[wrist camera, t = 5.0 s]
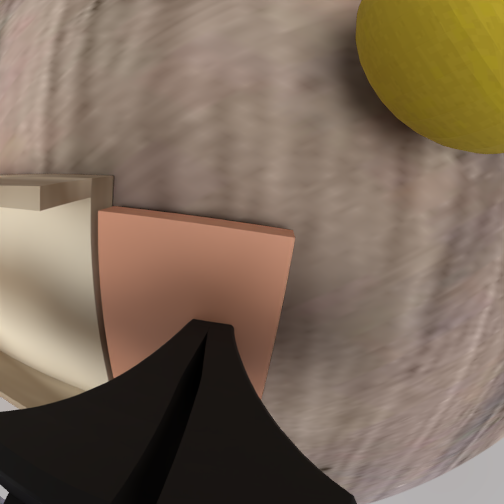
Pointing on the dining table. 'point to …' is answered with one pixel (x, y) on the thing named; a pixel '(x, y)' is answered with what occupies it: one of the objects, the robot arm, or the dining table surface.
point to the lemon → (438, 67)
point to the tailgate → (190, 282)
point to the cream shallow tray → (51, 287)
